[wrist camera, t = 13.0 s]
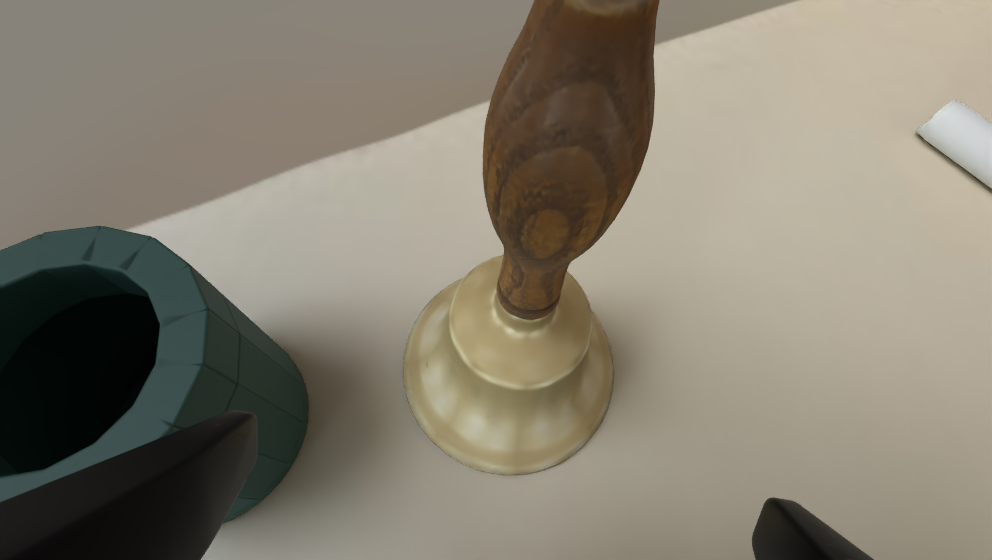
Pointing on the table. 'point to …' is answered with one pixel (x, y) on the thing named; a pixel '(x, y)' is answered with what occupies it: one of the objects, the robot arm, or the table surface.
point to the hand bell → (540, 244)
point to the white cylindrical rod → (962, 138)
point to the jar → (129, 360)
